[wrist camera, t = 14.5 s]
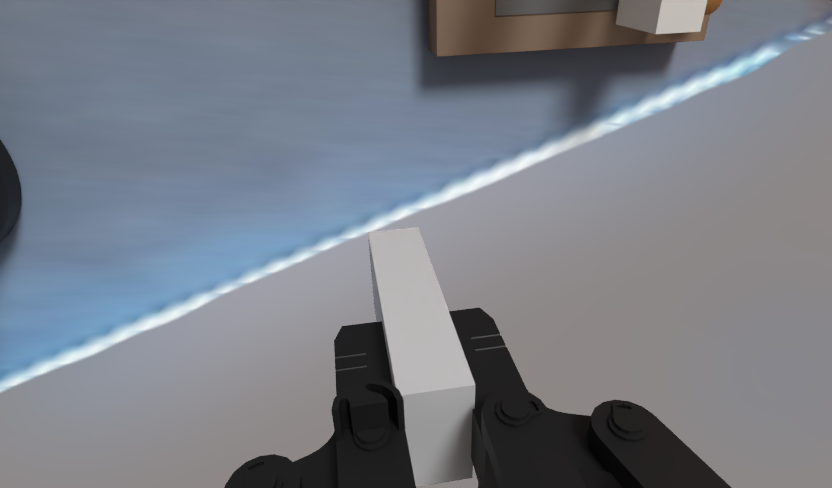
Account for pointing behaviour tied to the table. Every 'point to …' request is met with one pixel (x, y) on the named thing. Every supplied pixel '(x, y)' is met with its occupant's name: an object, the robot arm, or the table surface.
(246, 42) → the table surface
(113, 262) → the table surface
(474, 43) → the switch unit
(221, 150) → the table surface
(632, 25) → the switch
